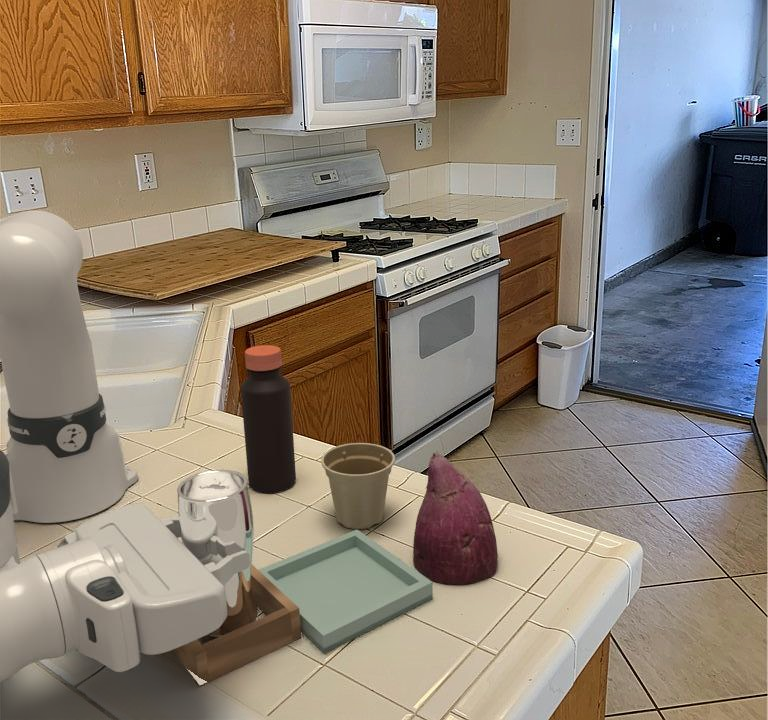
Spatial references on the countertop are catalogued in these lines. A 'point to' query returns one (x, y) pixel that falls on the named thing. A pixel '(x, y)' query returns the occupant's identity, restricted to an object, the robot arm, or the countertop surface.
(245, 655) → the frame
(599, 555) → the countertop surface
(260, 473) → the bottle
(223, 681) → the countertop surface
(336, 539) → the tray
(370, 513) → the flower pot
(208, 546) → the beer glass
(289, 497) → the countertop surface
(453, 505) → the vegetable
